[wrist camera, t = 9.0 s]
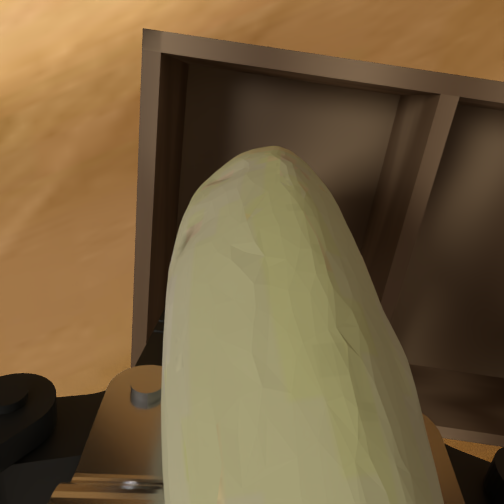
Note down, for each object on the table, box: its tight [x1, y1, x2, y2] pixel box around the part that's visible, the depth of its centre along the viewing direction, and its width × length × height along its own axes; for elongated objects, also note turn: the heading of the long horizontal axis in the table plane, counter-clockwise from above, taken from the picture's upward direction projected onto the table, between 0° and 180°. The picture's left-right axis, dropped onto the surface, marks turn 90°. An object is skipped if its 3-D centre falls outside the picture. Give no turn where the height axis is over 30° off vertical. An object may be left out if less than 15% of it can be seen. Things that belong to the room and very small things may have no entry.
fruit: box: [161, 146, 444, 504], centre depth 9 cm, size 9×4×15 cm, turn 22°
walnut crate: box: [131, 28, 504, 447], centre depth 17 cm, size 20×14×5 cm
